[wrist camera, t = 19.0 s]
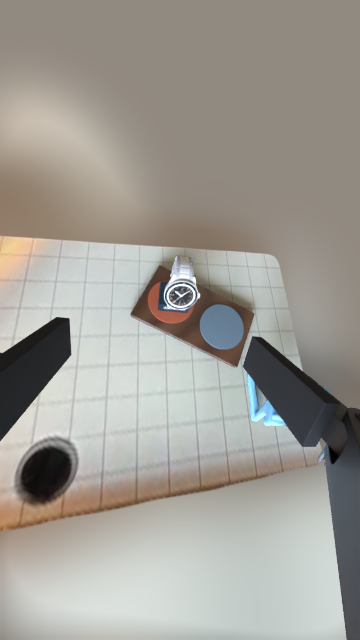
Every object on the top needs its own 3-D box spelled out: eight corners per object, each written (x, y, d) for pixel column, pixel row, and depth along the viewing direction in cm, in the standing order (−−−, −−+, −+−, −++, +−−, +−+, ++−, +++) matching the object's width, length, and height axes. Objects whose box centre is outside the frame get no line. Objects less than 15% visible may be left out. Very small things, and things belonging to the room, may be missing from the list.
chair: (239, 416, 33) (289, 437, 21) (247, 370, 35) (296, 367, 24) (278, 429, 33) (346, 456, 22) (283, 383, 36) (346, 386, 25)
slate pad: (192, 336, 34) (192, 336, 34) (209, 297, 37) (210, 296, 37) (235, 357, 34) (235, 357, 34) (248, 317, 37) (249, 316, 37)
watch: (157, 320, 33) (162, 295, 23) (159, 281, 36) (166, 242, 25) (186, 322, 34) (205, 299, 24) (187, 284, 37) (204, 248, 26)
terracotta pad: (139, 309, 34) (139, 309, 33) (160, 272, 37) (161, 272, 36) (182, 331, 34) (183, 331, 34) (200, 293, 37) (201, 292, 37)
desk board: (130, 316, 34) (130, 314, 33) (159, 268, 38) (159, 265, 37) (234, 367, 35) (237, 367, 34) (251, 315, 39) (254, 313, 38)
